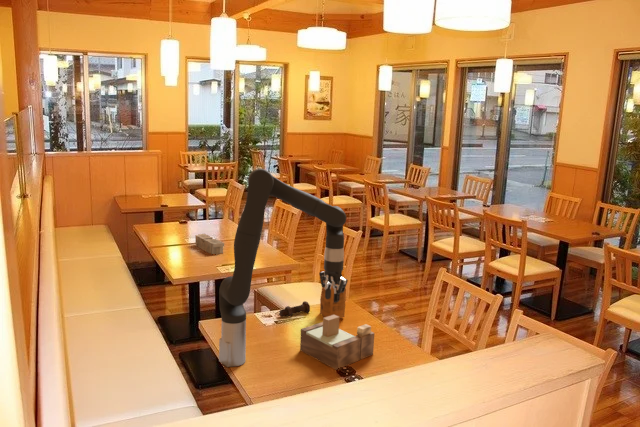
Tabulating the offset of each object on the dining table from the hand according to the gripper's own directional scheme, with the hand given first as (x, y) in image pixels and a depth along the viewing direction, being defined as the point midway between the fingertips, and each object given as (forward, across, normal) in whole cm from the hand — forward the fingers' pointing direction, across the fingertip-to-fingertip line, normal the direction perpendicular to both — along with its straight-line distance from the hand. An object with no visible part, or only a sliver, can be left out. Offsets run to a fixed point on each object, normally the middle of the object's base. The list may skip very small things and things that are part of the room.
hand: (332, 300), depth 213 cm
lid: (+16, 0, 0) cm, 16 cm away
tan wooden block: (+14, -8, -10) cm, 19 cm away
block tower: (+24, +163, -43) cm, 170 cm away
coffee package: (+23, +29, -29) cm, 47 cm away
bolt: (+24, +42, -16) cm, 50 cm away
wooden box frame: (+23, 0, -4) cm, 24 cm away
